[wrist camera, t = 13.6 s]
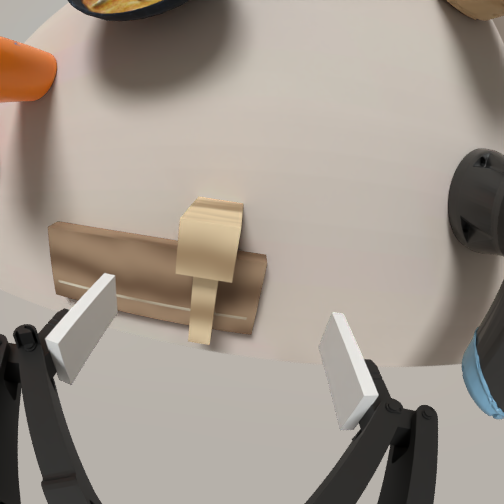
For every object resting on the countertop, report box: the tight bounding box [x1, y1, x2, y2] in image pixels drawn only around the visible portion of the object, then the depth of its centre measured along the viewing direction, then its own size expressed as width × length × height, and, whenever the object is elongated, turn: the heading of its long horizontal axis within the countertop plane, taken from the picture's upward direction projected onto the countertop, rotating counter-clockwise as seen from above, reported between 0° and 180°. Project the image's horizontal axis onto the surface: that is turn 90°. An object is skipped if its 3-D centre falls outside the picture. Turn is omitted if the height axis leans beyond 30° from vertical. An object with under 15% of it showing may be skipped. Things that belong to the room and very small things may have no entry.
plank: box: [48, 222, 267, 335], centre depth 33 cm, size 10×28×2 cm, turn 80°
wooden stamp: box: [176, 197, 243, 345], centre depth 29 cm, size 14×5×9 cm, turn 170°
